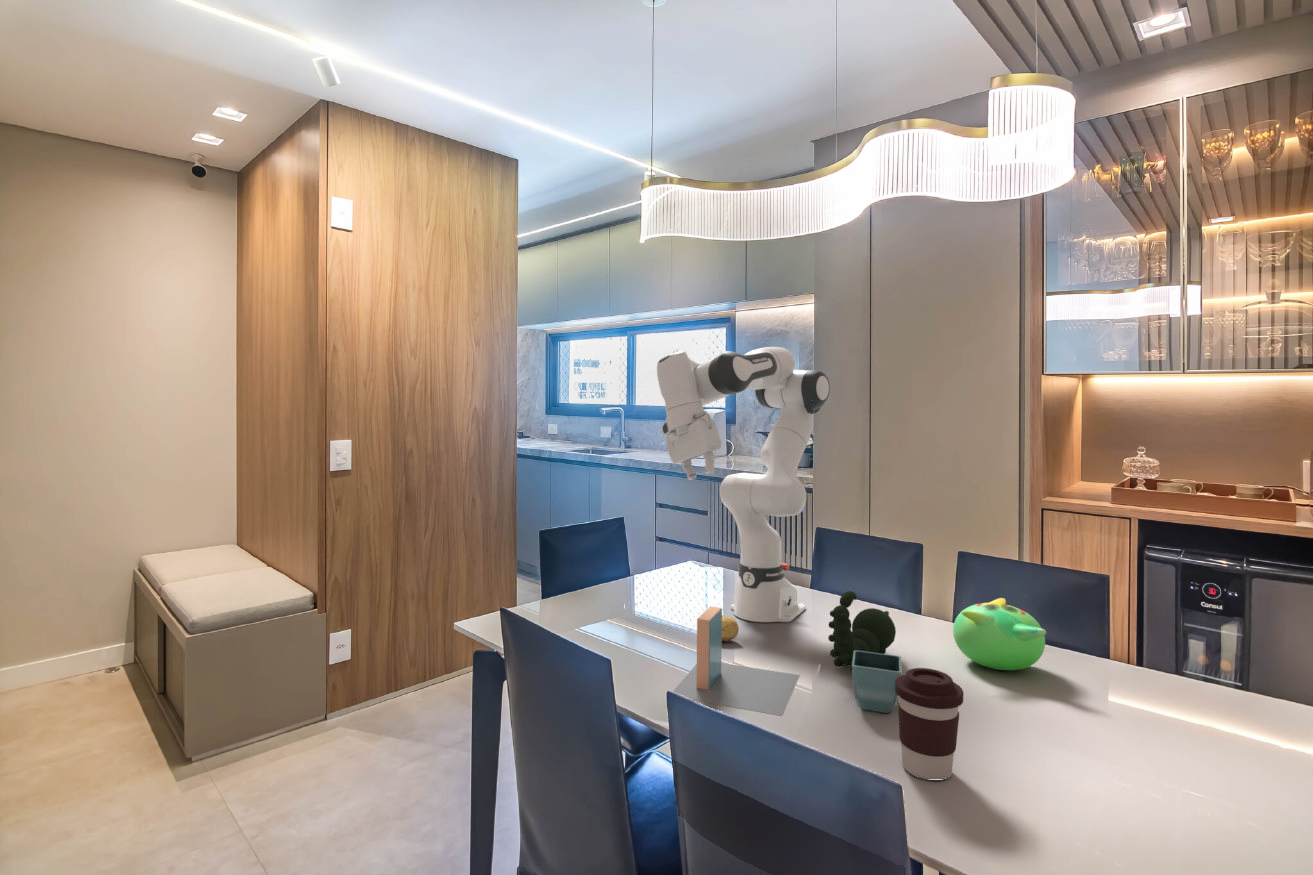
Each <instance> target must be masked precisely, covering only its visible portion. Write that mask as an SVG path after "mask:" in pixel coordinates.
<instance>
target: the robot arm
mask: <svg viewBox="0 0 1313 875" xmlns="http://www.w3.org/2000/svg"><path fill="white" fill-rule="evenodd" d="M795 361H796V360H795V358H794V354H793V353H792V352H791V351H790V350H788V349H787V348H784V347H780V346H767V347H760V348H756V349H753V350H752V349H751V350H750V351H748V352H746V353H745V354H742V353H738V352H735V351H731V350H728V351H724V352H722V353H720V354H719V355H717V356H715V357H714V358H712V359H710V360H709V359H708V360H707V361H704V362H703V363H698V362H695V361H694V360H692V359H691V358H690V357H689V356H688V354H687V352H686V351H685V350H683V351H682V350H680V351H675V352H672V353H671V354H668V355H666V356H664V357H662V358H660V359H659V360H658V362H657V364H656V374H657V381H658V386H659V390H660V393H661V397H662V398H663V400H664V404H665V414H666V417H665V421H664V422H663V425H662V426H661V432H662V435H663V436H665V442H666V447H667V448H666V449H667V451H668V454H669V458H670V460H671V462H672V463H673V464H674V465H679V464H681V468H682V469H683V470H684V473H686V477H687V480H688V481H691V480H694V479H697V477H698V476H697V473H696V470H694V468H693V466H692V460H694V459H697V458H699V457H703V459H704V464H705V465H704V466H703V468H704V472H705V474H706V475H708V474H713V473H715V472H716V468H715V453H714V452H715V451H718V450H720V449H721V448H722V441H721V440H722V439H721V436H720V434H719V431H718V428H717V426H716V423H715V421H714V420H713V418H711V415H710V414H709V413H708V412H707V411H706V410H705V409H704V406H706V405H709V404H711V403H713V402H716V401H718V400H720V399H723V398H726V397H728V396H731V395H734V394H737V393H741V392H743V391H745V390H746V389H748V390H751V391H752V390H755V394H754V395H755V397H756V400H757V401H758V403H759V404H760V405H761V406H762V407H766V408H770V409H775V408H777V409H780V410H781V411H780V416H779V417H778V418H777V420H776V421H775V423H774V424H773V426H772V428H771V429H770V431H769V434H767V435H768V436H767V438H766V440H765V442H764V443H763V445H762V448H761V449H760V459H761V462H762V464H763V465H764V467H766V469H767V471H766V472H764V473H752V472H751V473H750V472H739V473H733V474H728V475H726V476H725V477H724V478H723V480H722V482H721V483H720V487H719V498H720V500H721V503H722V504H723V505H724V506H725V507H726V508H727V509H728V510H729V512H730V513H731V515H732V517H733V519H734V521H735V523H736V527H737V529H738V533H739V539H740V540H739V545H740V562H739V563H738V568H737V569H738V577H739V578H737V580H736V581H735V589H734V600H733V603H732V604H731V605H730V609H731V610H733V615H735V616H736V617H737V618H739V619H742V620H745V621H750V622H755V623H756V622H757V623H774V622H775V623H777V622H779V623H789V622H792V621H793V620H794V619H795V618H796V617H798V616H799V615H801V614H802V612H804V611H805V610H806V609H807V608H806V605H805V604H804V603H802V602H799V601H798V591H797V587H796V586H794V585H793V584H792V583H791V582H790V581H789V580H788V579H787V578H786V577H785V571H786V572H788V571H789V569H790V565H789V563H784V562H782V538H781V535H780V534H779V532H778V531H777V530H776V529H775V528H773V527H772V526H771V524H770V522H769V521H768V519H767V516H772V517H778V518H780V517H782V518H783V517H791V516H792V517H794V516H798V515H799V514H800V513H801V512H802V511H803V510H804V508H805V505H806V503H807V490H806V487H804V484H803V483H802V482H801V481H800V479H799V476H798V467H799V464H800V461H801V459H802V457H803V454H804V452H805V450H806V448H807V446H808V443H809V440H810V438H811V435H812V431H813V426H814V418H813V416H812V415H814V414H817V413H818V412H819V411H820V410H821V407H823V405H824V404H825V403H826V401H827V399H828V398H829V396H830V391H831V390H830V389H831V387H830V382H829V379H828V377H827V375H826V374H825V372H823V371H820V370H816V369H808V370H807V369H806V370H805V369H795V368H796V362H795Z"/></svg>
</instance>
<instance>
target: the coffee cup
mask: <svg viewBox="0 0 1313 875" xmlns="http://www.w3.org/2000/svg"><path fill="white" fill-rule="evenodd" d="M895 692H896V694H897V695H898V702H897V713H898V714H897V716H898V735H899V740H900V746H901V748H900V749H901V764H902V767H903V768H904V770H905V771H906V772H907V773H909V774H910V773H911V775H912V776H914V775H915V776H914V777H916V776H918V777H920V778H919V779H921V778H924V779H923V780H925V779H945V778H947V779H949V778H950V777H951V776H950V775H952V773H953V767H954V766H953V765H954V764H953V763H954V755H955V752H956V748H957V741H958V740H957V739H958V730H959V721H960V712H959V707H960V706H961V705H963V703H964V690H963V688H962V687H961V686H960V685H959V684H957V683H956V682H955V681H954V680H953V678H952V677H951V676H950V675H949V674H947V673H946V672H943V671H940V670H937V669H934V668H933V669H932V668H928V667H927V668H926V667H914V668H910V669H908V670H906V672H905V673H904V674H902V675H901V676H899V677H898V678H897V679H896V680H895ZM949 776H950V777H949ZM918 777H917V778H918ZM948 777H949V778H948ZM945 780H946V779H945Z"/></svg>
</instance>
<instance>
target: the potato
mask: <svg viewBox="0 0 1313 875" xmlns="http://www.w3.org/2000/svg"><path fill="white" fill-rule="evenodd" d="M739 628H740V627H739V624H738V622H737V620H736V619H735V618H732V617H729V616H726V615H724V614H722V642H730V641H732V640H733V639H735V638H737V637H738V635H739V630H740V629H739Z"/></svg>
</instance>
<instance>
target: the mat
mask: <svg viewBox="0 0 1313 875" xmlns="http://www.w3.org/2000/svg"><path fill="white" fill-rule="evenodd" d="M799 677H800V674H796V673H789V672H784V671H783V672H782V671H776V670H770V669H764V668H763V669H762V668H756V667H751V666H750V667H749V666H744V665H737V664H733V663H732V664H731V663H724V662H721V674H720V675H719V676H718V678H717V679H716V680H715V682H714V683H713V684H712V686H711V687H710V688H709V690H707V689H701V688H696V687H697V663H696V664H695V665H694V666H693V667H692V669H691V670H689V672H688V674H687V675H686V676H685V677H684V678H683V679H682V680H681V682H679V684H678V685H677V686H676V687H675V688H674V690H673V691H674V692H676V693H678V694H681V695H684V696H685V697H688V698H690V699H693V700H692V701H695V702H702V703H706V704H713V705H717V706H724V707H729V708H730V707H731V708H735V709H739V710H747V711H752V712H759V713H763V714H768V715H772V716H773V715H774V716H781V717H782V716H783V715H784V712H785V710H786V707H787V705H788V703H789V701H790V698H791V696H792V694H793V693H794V692H793V691H794V690H795V687H796V685H797V682H798V680H799V679H800V678H799Z"/></svg>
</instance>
